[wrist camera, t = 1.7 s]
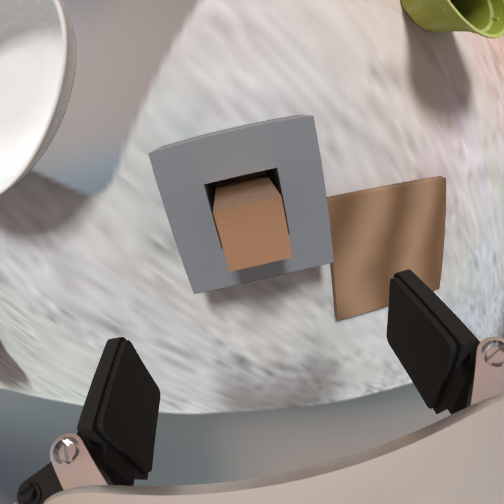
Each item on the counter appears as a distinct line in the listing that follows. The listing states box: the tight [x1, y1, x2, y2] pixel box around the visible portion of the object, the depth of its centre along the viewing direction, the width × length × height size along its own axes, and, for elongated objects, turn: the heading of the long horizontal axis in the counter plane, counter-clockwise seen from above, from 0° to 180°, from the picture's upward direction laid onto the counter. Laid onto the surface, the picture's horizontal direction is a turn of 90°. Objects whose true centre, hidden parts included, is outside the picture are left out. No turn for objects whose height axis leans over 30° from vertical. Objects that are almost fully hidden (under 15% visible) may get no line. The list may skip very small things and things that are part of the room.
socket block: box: [149, 115, 334, 294], centre depth 25 cm, size 12×12×5 cm
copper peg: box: [213, 171, 292, 272], centre depth 23 cm, size 4×4×10 cm
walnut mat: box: [326, 176, 446, 320], centre depth 31 cm, size 14×14×1 cm
